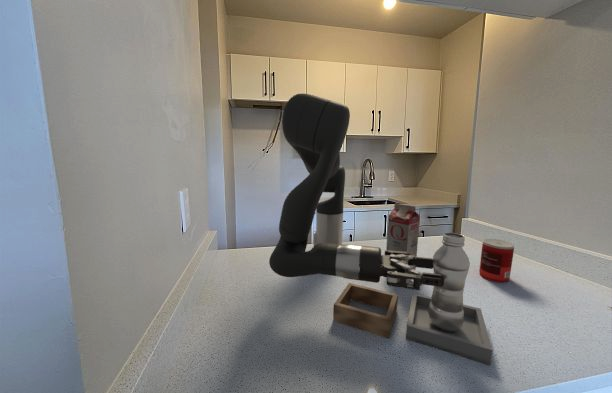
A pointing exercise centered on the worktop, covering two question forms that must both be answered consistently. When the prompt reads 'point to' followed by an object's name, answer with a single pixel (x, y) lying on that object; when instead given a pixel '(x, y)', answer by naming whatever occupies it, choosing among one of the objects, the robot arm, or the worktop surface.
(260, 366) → the worktop surface
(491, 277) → the canned food
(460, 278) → the plastic bottle
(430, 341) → the tray
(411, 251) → the juice carton
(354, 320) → the open wooden box
